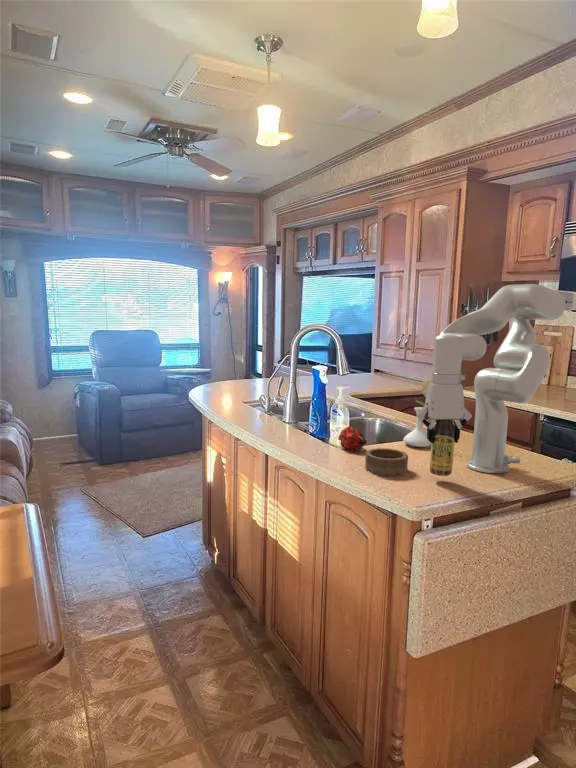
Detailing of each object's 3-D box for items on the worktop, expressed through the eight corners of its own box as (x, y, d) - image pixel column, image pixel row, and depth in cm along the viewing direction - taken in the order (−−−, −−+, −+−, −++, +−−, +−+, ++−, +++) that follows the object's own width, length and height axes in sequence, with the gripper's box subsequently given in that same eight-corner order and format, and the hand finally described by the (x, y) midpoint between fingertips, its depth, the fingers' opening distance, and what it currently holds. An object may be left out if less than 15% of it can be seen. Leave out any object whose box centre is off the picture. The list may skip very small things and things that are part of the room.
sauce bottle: (428, 475, 143) (430, 407, 140) (430, 468, 148) (432, 403, 145) (452, 478, 140) (455, 408, 137) (453, 471, 146) (456, 404, 143)
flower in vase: (401, 447, 180) (405, 379, 177) (404, 440, 191) (407, 375, 187) (439, 451, 176) (444, 381, 173) (439, 443, 187) (444, 377, 184)
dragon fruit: (342, 448, 184) (361, 461, 174) (328, 437, 180) (346, 450, 169) (356, 429, 184) (376, 442, 174) (342, 418, 180) (361, 430, 170)
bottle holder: (400, 463, 161) (401, 448, 160) (411, 476, 149) (412, 460, 148) (362, 463, 161) (363, 448, 160) (369, 475, 149) (370, 459, 148)
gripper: (471, 377, 144) (467, 438, 147) (411, 377, 144) (409, 438, 146) (482, 381, 137) (478, 445, 139) (419, 381, 136) (416, 445, 139)
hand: (442, 441), depth 143 cm, fingers closed on sauce bottle, 6 cm apart
